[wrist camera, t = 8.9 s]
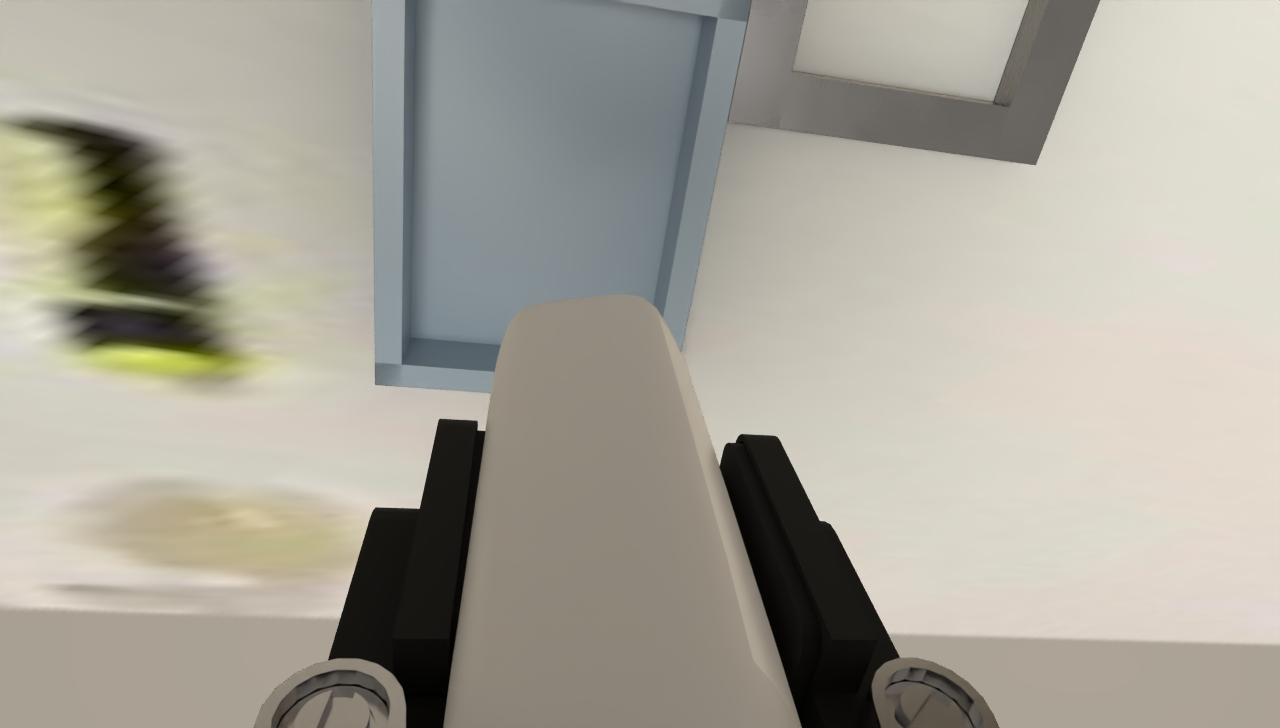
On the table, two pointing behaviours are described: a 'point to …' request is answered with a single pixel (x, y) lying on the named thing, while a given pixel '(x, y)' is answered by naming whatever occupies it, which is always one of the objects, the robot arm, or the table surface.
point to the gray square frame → (905, 114)
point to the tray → (538, 166)
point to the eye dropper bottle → (606, 542)
